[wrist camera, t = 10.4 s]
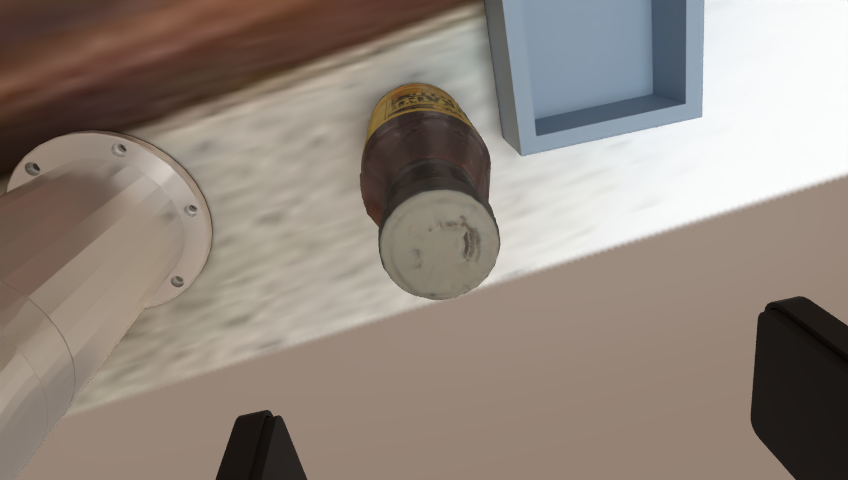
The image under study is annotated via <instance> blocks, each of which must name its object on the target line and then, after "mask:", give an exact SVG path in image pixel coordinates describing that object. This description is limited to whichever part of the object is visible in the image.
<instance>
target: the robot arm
mask: <svg viewBox="0 0 848 480" xmlns="http://www.w3.org/2000/svg"><path fill="white" fill-rule="evenodd" d="M121 144H122V145H124V147H125V148H126V150H123V149H122V147H121ZM37 165H38V166H39V167H38V166H37ZM191 205H194V206H195V207H196V208H197V209H193V208H192V207H191ZM211 240H212V226H211V218H210V214H209V211H208V208H207V205H206V202H205V199H204V197H203V196H202V194H201V192H200V190H199V189H198V187H197V185H196V183H195V182H194V181H193V180H192V178H191V177H190V176H189V175H188V174H187V172H186V171H185V170H184V169H183V168H182V167H181V166H180V165H179V164H178V163H176V162H175V161H174V160H173V159H172V158H171V157H170V156H168V155H167V154H165V153H164V152H162V151H160V150H159V149H157V148H156V147H154V146H152V145H151V144H148V143H146V142H144V141H141V140H139V139H137V138H134V137H132V136H128V135H124V134H120V133H115V132H111V131H96V130H88V131H80V132H72V133H69V134H65V135H62V136H59V137H56V138H53V139H51V140H49V141H47V142H45V143H43V144H41V145H39V146H37V147H36V148H35V149H33V150H32V151H31V152H29V153H28V154H27V155H26V156H24V158H23V159H22V160H21V161H20V163H19V164H18V165H17V166H16V168H15V169H14V171H13V173H12V175H11V177H10V180H9V182H8V184H7V188H6V193H5V194H3V195H1V196H0V480H16V479H17V477H18V476H19V475H20V473H21V471H22V470H23V469H24V468H25V466H26V465H27V463H28V462H29V461H30V459H31V458H32V456H33V455H34V454H35V452H36V451H37V449H38V448H39V447H40V445H41V444H42V443H43V441H44V440H45V439H46V437H47V436H48V435H49V433H50V432H51V431H52V429H53V428H54V427H55V425H56V424H57V423H58V421H59V420H60V419H61V417H62V416H63V415H64V414H65V413H66V411H67V410H68V409H69V407H70V406H71V405H72V404H73V402H74V401H75V400H76V398H77V397H78V396H79V394H80V393H81V392H82V390H83V389H84V388H85V386H86V385H87V384H88V382H89V381H90V380H91V378H92V377H93V376H94V374H95V373H96V372H97V370H98V369H99V368H100V366H101V365H102V364H103V362H104V361H105V360H106V358H107V357H108V356H109V354H110V353H111V352H112V350H113V349H114V348H115V346H116V345H117V344H118V342H119V341H120V340H121V339H122V337H123V336H124V335H125V333H126V332H127V331H128V329H129V328H130V327H131V325H132V324H133V323H134V321H135V320H136V319H137V317H138V316H139V315H140V313H141V312H142V311H143V309H145V308H150V307H153V306H157V305H160V304H163V303H165V302H167V301H169V300H171V299H173V298H175V297H177V296H178V295H180V294H181V293H182V292H183V291H184V290H185V289H187V288H188V287H189V286H190V285H191V284H192V283H193V281H194V280H195V279H196V277H197V276H198V275H199V273H200V272H201V270H202V268H203V266H204V265H205V263H206V261H207V258H208V255H209V252H210V249H211ZM180 277H181V278H180ZM756 338H757V339H756V351H755V366H754V378H753V391H752V405H751V423H752V427H753V429H754V431H755V433H756V435H757V436H758V437H759V439H760V440H761V441H762V442H763V443H764V444H765V445H766V446H767V448H768V449H769V450H770V451H771V452H772V453H773V454H774V455H775V457H776V458H777V459H778V460H779V461H780V462H781V463H782V465H783V466H784V467H785V468H786V469H787V470H788V471H789V473H790V474H791V475H792V476H793V477H794V478H795V479H796V480H848V326H847V325H846V324H844V323H843V322H841V321H840V320H838V319H837V318H836V317H834V316H833V315H831V314H830V313H828V312H827V311H825V310H824V309H822V308H821V307H819V306H818V305H816V304H815V303H813V302H812V301H811V300H809V299H807V298H805V297H800V296H798V297H793V298H789V299H784V300H779V301H775V302H771V303H769V304H767V306H766V307H765V311H764V312H762V313H760V314H759V317H758V324H757V337H756ZM216 480H307V478H306V475H305V473H304V470H303V468H302V465H301V463H300V461H299V458H298V455H297V453H296V450H295V448H294V446H293V443H292V441H291V438H290V435H289V433H288V430H287V428H286V425H285V423H284V421H283V419H282V417H281V416H274V417H273V415H272V413H271V412H270V411H269V410H265V411H260V412H255V413H251V414H246V415H242V416H239V417H238V418H237V419H236V421H235V424H234V427H233V430H232V432H231V435H230V439H229V442H228V444H227V447H226V450H225V453H224V456H223V459H222V462H221V465H220V468H219V471H218V474H217V477H216Z"/></svg>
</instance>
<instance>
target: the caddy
mask: <svg viewBox="0 0 848 480" xmlns="http://www.w3.org/2000/svg"><path fill="white" fill-rule="evenodd" d="M484 4H485V11H486V19H487V26H488V33H489V40H490V48H491V55H492V62H493V69H494V77H495V84H496V91H497V98H498V106H499V113H500V120H501V127H502V135H503V138H504V139H505V140H506V141H507V142H508V143H509V144H510V145H511V146H512V147H513V148H514V149H515V150H516V151H517V152H518V153H519V154H520V155H521V156H526V155H530V154H535V153H539V152H544V151H549V150H553V149H558V148H562V147H567V146H571V145H576V144H581V143H585V142H590V141H594V140H599V139H603V138H608V137H613V136H617V135H622V134H626V133H631V132H635V131H640V130H645V129H649V128H654V127H658V126H663V125H668V124H672V123H677V122H681V121H686V120H690V119H695V118H700V117H702V95H703V42H704V0H484Z"/></svg>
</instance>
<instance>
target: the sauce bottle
mask: <svg viewBox="0 0 848 480" xmlns="http://www.w3.org/2000/svg"><path fill="white" fill-rule="evenodd" d="M490 169H491V162H490V155H489V152H488V149H487V147H486V145H485V143H484V141H483V139H482V137H481V136H480V135H479V133H478V132H477V130H476V129H475V127H474V126H473V125H472V123H471V122H470V121H469V119H468V118H467V116H466V114H465V113H464V112H463V111H462V110H461V108H460V107H459V105H458V104H457V103H456V102H455V100H454V99H453V98H452V97H451V96H450V95H448V94H447V93H446V92H444V91H443V90H441V89H439V88H437V87H434V86H431V85H429V84H421V83H413V84H407V85H402V86H400V87H398V88H396V89H394V90H392V91H390V92H389V93H387V94H386V95H385V96H384V97H383V98H382V99H381V100H380V102H379V103H378V104H377V106H376V107H375V109H374V111H373V113H372V116H371V119H370V122H369V127H368V132H367V137H366V142H365V146H364V150H363V155H362V163H361V174H360V186H361V193H362V198H363V201H364V205H365V207H366V211H367V214H368V215H369V216H370V217H371V218H372V220H373V221H374V222H375V223H376V224H377V226H378V227H379V237H378V242H379V253H380V257H381V261H382V265H383V268H384V270H385V271H386V272H387V273H388V275H389V276H390V278H391V279H392V280H393V281H394V282H395V283H396V284H397V285H398V286H399V287H401V288H402V289H403V290H405V291H406V292H408V293H410V294H413V295H416V296H420V297H424V298H427V299H431V300H444V299H450V298H455V297H457V296H459V295H461V294H464V293H467V292H468V291H470V290H472V289H474V288H475V287H477V286H478V285H479V284H480V283H481V282H482V281H483V280H484V279H485V278H486V277H487V276H488V275H489V273H490V271H491V270H492V268H493V267H494V266H495V262H496V259H497V256H498V253H499V249H500V237H499V229H498V225H497V223H496V219H495V217H494V214H493V211H492V208H491V206H490V204H489V203H488V199H489V185H490Z"/></svg>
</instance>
